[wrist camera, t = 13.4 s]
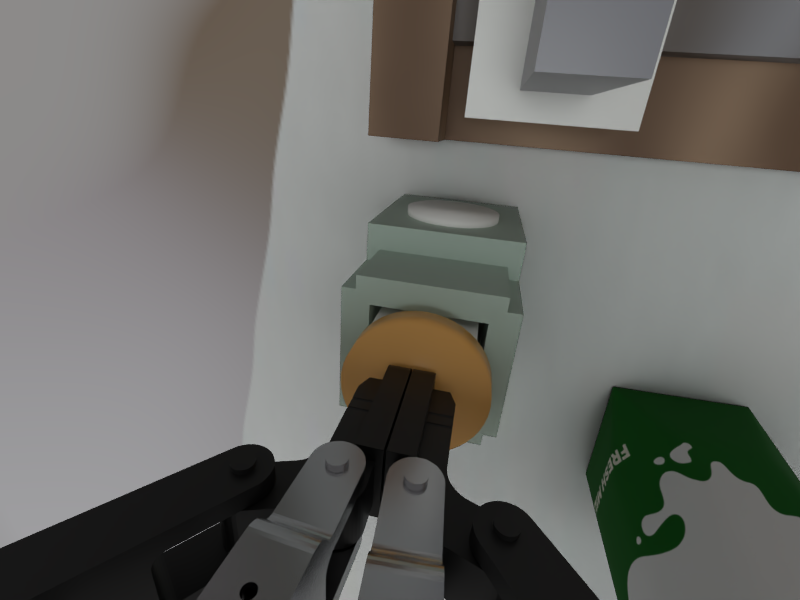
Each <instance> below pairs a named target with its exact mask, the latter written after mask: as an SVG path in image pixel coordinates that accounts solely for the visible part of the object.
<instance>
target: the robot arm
mask: <svg viewBox="0 0 800 600" xmlns="http://www.w3.org/2000/svg"><path fill="white" fill-rule="evenodd" d="M435 380H436V373H434V372H428V371H423V370H417V369H413V371H412V369H411V368H406V367H400V366H395V365H389V366H388V368H387V370H386V372H385V374H384V377H383V379H377V378H372V377H369V378H368V379H367V380H365V381H364V382H363V383H361V384H360V385H359V386H358V388H357V390H356V391H355V393H354V395H353V398H352V399H351V401H350V403H349V405H348V408H347V409H346V411H345V413H344V415H343V417H342V419H341V421H340V423H339V425H338V427H337V428H336V430H335V432H334V434H333V436H332V438H331V440H330V442H328V443H325V444H323V445H321V446H319V447H318V448H317V449H315V450H314V451H313V453H312V454H311V455H310V457H309V458H307V459H304V460H297V461H280V462H275V460H274V456H273V454H272V452H271V451H270V450H269V449H267V448H265V447H263V446H260V445H255V444H248V445H241V446H238V447H235V448H233V449H230V450H228V451H226V452H223V453H221V454H218V455H216V456H214V457H212V458H209V459H207V460H204V461H202V462H200V463H197V464H195V465H193V466H191V467H188V468H186V469H183V470H181V471H179V472H177V473H174V474H172V475H170V476H167V477H165V478H163V479H160V480H158V481H156V482H153V483H151V484H149V485H146V486H144V487H142V488H139V489H137V490H135V491H132V492H130V493H128V494H125V495H123V496H121V497H118V498H116V499H114V500H111V501H109V502H107V503H105V504H102V505H100V506H98V507H95V508H93V509H91V510H88V511H86V512H84V513H81V514H79V515H77V516H74V517H72V518H70V519H67V520H65V521H63V522H60V523H58V524H56V525H53V526H51V527H49V528H46V529H44V530H42V531H39V532H37V533H35V534H32V535H30V536H28V537H25V538H23V539H21V540H18V541H16V542H14V543H11V544H9V545H7V546H5V547H2V548H0V600H339V597H340V595H341V592H342V590H343V587H344V585H345V582H346V580H347V577H348V575H349V572H350V570H351V567H352V565H353V562H354V560H355V557H356V555H357V552H358V550H359V547H360V545H361V540H362V534H363V532H364V529H365V526H366V522H367V519H368V516H369V515H370V516H374V517H378V520H377V525H376V530H375V534H374V539H373V544H372V548H371V551H369V553H368V556H367V560H366V564H365V569H364V573H363V578H362V583H361V587H360V592H359V597H358V600H444V598H445V599H446V600H599V599H598V597H597V596H596V595H595V594H594V593H593V591H592V590H591V589H590V588H589V587H588V586H587V584H586V583H585V582H584V581H583V580H582V578H581V577H580V576H579V575H578V574H577V572H576V571H575V570H574V569H573V568H572V566H571V565H570V564H569V563H568V562H567V560H566V559H565V558H564V557H563V556H562V554H561V553H560V552H559V551H558V550H557V548H556V547H555V546H554V545H553V544H552V542H551V541H550V540H549V539H548V538H547V537H546V535H545V534H544V533H543V532H542V531H541V529H540V528H539V527H538V526H537V525H536V523H535V522H534V521H533V520H532V519H531V517H530V516H529V515H528V514H527V513H525V512H524V511H523V510H522V509H520V508H519V507H517V506H515V505H513V504H510V503H507V502H502V501H492V502H488V503H485V504H483V505H482V506H481V507H480V506H478V505H476V504H474V503H472V502H471V501H469V500H467V499H465V498H464V497H462V496H461V495H460V494H459V493H458V492H457V491H456V490H455V489H454V488H453V486H452V485H451V483H450V481H449V479H448V475H447V464H448V457H449V450H450V442H451V435H452V428H453V420H454V413H455V406H456V404H455V402H454V399H453V397H452V395H451V393H450V392H446V391H441V390H436V389H434V387H435ZM219 522H220V523H219ZM217 523H218V524H217ZM215 524H217V525H215ZM213 525H215V526H213ZM211 526H213V527H211ZM209 527H211V528H209ZM208 528H209V529H208ZM205 529H207V530H205ZM204 530H205V531H204ZM202 531H203V532H202ZM200 532H201V533H200ZM198 533H200V534H198ZM196 534H198V535H196ZM194 535H196V536H194ZM192 536H194V537H192ZM191 537H192V538H191ZM189 538H190V539H189ZM187 539H188V540H187ZM185 540H187V541H185ZM183 541H184V542H183ZM181 542H183V543H181ZM179 543H181V544H179ZM177 544H179V545H177ZM175 545H177V546H175ZM173 546H175V547H173ZM172 547H173V548H172ZM170 548H171V549H170ZM168 549H169V550H168ZM166 550H168V551H166ZM165 551H166V552H165Z"/></svg>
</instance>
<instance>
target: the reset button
mask: <svg viewBox="0 0 800 600" xmlns="http://www.w3.org/2000/svg"><path fill="white" fill-rule="evenodd" d="M478 325H479V322H474V321H468V320H462V319H455V318H449V317H443V316H440V315H438V314H434V313H430V312H424V311H406V310H400V309H393V308H387V307H382V308H381V309H380V311H379V312H378V314H377V316H376V317H375V319H374V321H373V322H372V323H371V324H370V325H369V326H368V327H367V328H366V329H365V330H364V331H363V332H362V333H361V334H360V336H359V337H358V339H357V340H356V342H355V344H354V345H353V347H352V348H351V350H350V351H349V353H348V355H347V356H346V359H345V361H344V363H343V367H342V371H341V389H342V394H343V398H344V400H345V403H346V405H347V407H348V405H349V403H350V401H351V399H352V398H353V395H354V393H355V391H356V390H357V388H358V386H359V385H360V384H361V383H363V382H364V381H365V380H367V379H368V378H369V377H372V378H377V379H383V377H384V374H385V372H386V370H387V368H388V366H389V365H395V366H400V367H406V368H411V369H412V371H413V369H417V370H423V371H428V372H434V373H436V380H435V387H434V389H436V390H441V391H446V392H450V393H451V395H452V397H453V399H454V402H455V404H456V406H455V413H454V420H453V428H452V435H451V442H450V449H453V448H456V447H458V446H460V445H462V444H464V443H466V442H467V441H469V440H470V439H471V438H473V437H474V436H475V435H476V434H477V433H478V432H479V431H480V429H481V428H482V427H483V425H484V424H485V422H486V420H487V418H488V415H489V412H490V408H491V400H492V374H491V368H490V364H489V361H488V358H487V355H486V354H485V352H484V350H483V348H482V347H481V345H480V344H479V342H478V341H477V337H478Z"/></svg>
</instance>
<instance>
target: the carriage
mask: <svg viewBox="0 0 800 600" xmlns="http://www.w3.org/2000/svg"><path fill="white" fill-rule="evenodd" d="M676 2H677V0H479V8H478V15H477V23H476V31H475V39H474V47H473V54H472V62H471V70H470V78H469V86H468V94H467V101H466V109H465V117H466V118H476V119H489V120H501V121H513V122H525V123H538V124H550V125H562V126H575V127H587V128H599V129H611V130H624V131H639V128H640V125H641V121H642V118H643V115H644V111H645V108H646V104H647V101H648V98H649V94H650V91H651V87H652V84H653V81H654V77H655V74H656V70H657V67H658V63H659V60H660V57H661V53H662V50H663V46H664V43H665V40H666V36H667V33H668V29H669V26H670V23H671V19H672V16H673V12H674V9H675V5H676Z"/></svg>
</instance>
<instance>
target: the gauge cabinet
mask: <svg viewBox="0 0 800 600" xmlns="http://www.w3.org/2000/svg"><path fill="white" fill-rule="evenodd" d="M526 245H527V242H526V238H525V235H524V231H523V227H522V223H521V219H520V215H519V211H518V207H511V206H502V205H493V204H485V203H476V202H467V201H458V200H450V199H441V198H432V197H423V196H415V195H406V194H404V195H403V196H402V197H400V198H399V199H398V200H397V201H395V202H394V203H393V204H392V205H390V206H389V207H388V208H387V209H385V210H384V211H383V212H382V213H380V214H379V215H378V216H377V217H375V218H374V219H373V220H372V221H370V222H369V223H368V241H367V260H366V261H365V262H364V263H363V264H362V265H361V266H360V267H359V269H358V270H357V271H356V272H355V273H354V274H353V275H352V276H351V277H350V278H349V279H348V280H347V281H346V282H345V284H344V285H343V286H342V291H341V351H340V406H345V407H347V405H346V403H345V400H344V398H343V394H342V389H341V371H342V367H343V363H344V361H345V359H346V356H347V355H348V353H349V351H350V350H351V348H352V347H353V345H354V344H355V342H356V340H357V339H358V337H359V336H360V334H361V333H362V332H363V331H364V330H365V329H366V328H367V327H368V326H369V325H370V324H371V323H372V322H373V321H374V319H375V317H376V316H377V314H378V312H379V311H380V309H381V308H382V307H387V308H393V309H400V310H406V311H424V312H430V313H434V314H438V315H440V316H443V317H449V318H455V319H462V320H468V321H474V322H479V325H478V337H477V341H478V342H479V344H480V345H481V347H482V348H483V350H484V352H485V354H486V355H487V358H488V361H489V364H490V368H491V374H492V400H491V408H490V412H489V415H488V418H487V420H486V422H485V424H484V425H483V427H482V428H481V429H480V431H479V432H478V433H477V434H476V435H475V436H474V437H473V438H471V439H470V440H469V441H467V442H468V443H473V444H478V445H480V444H481V439H482V435H487V436H492V437H496V436H497V432H498V427H499V423H500V418H501V414H502V409H503V405H504V400H505V396H506V391H507V387H508V383H509V378H510V374H511V369H512V365H513V360H514V356H515V351H516V347H517V342H518V338H519V333H520V329H521V324H522V320H523V315H524V314H523V307H522V301H521V294H520V287H519V278H520V273H521V268H522V264H523V259H524V254H525V249H526Z"/></svg>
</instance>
